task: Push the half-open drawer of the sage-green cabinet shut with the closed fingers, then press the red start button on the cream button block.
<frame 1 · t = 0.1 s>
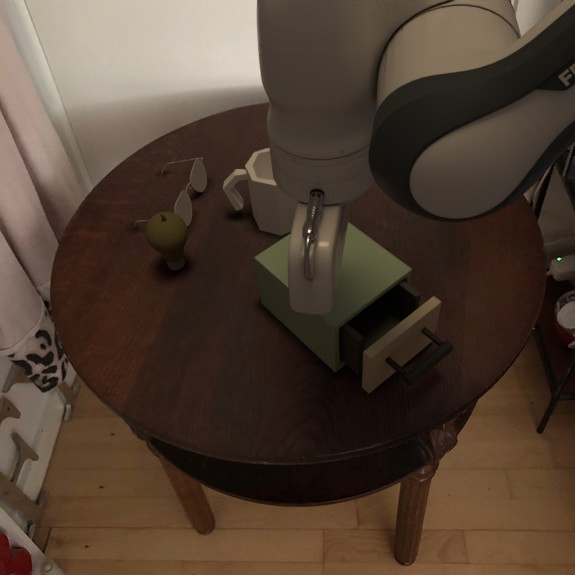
hand: (328, 265, 61), 20 cm above the table, tool pointing down, fingers open, 8 cm apart
sunglasses: (173, 203, 99), on the table
light bulb: (178, 267, 90), on the table
cabinet: (332, 310, 83), on the table
drawer: (376, 324, 75), point 5 cm above the table, slide at 4.0 cm
mug: (268, 216, 95), on the table
button block: (415, 167, 100), on the table
start button: (418, 144, 96), point 4 cm above the table, slide at 0.1 cm
fruit: (298, 159, 103), on the table
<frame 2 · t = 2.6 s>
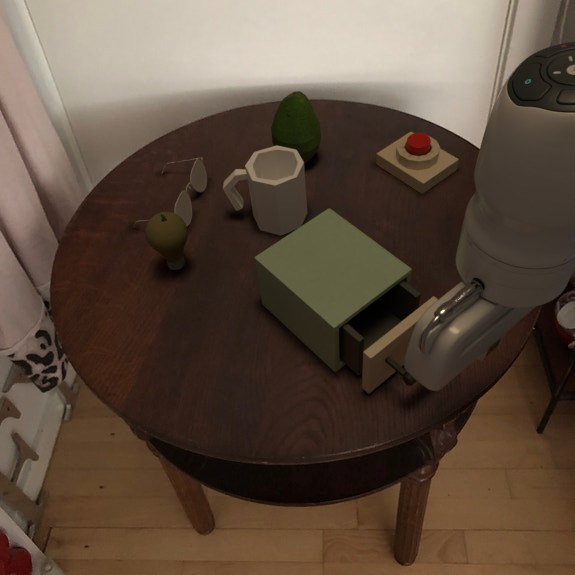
hand: (483, 348, 60), 15 cm above the table, tool pointing down, fingers closed
nothing on the table moved.
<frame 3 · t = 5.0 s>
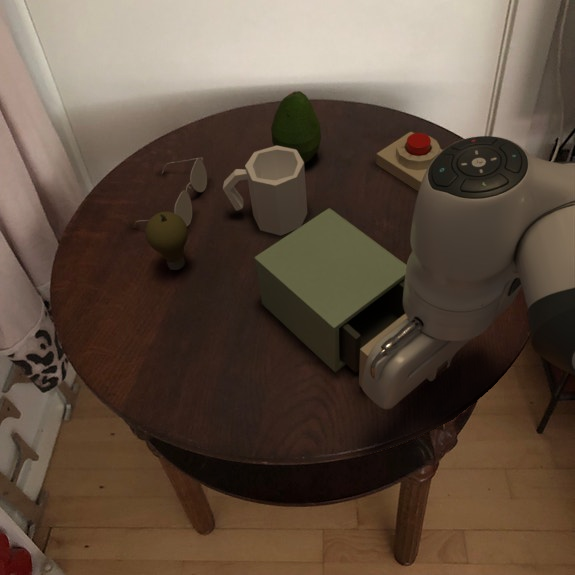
hand: (434, 370, 70), 6 cm above the table, tool pointing down, fingers closed, pressing on drawer
drawer: (373, 322, 75), point 5 cm above the table, slide at 3.5 cm, touching gripper
everything else where it was.
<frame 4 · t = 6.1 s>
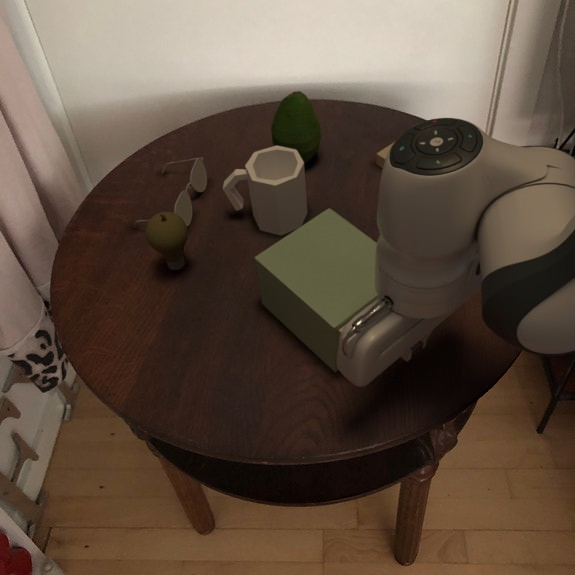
hand: (410, 350, 71), 6 cm above the table, tool pointing down, fingers closed, pressing on drawer
drawer: (353, 305, 77), point 5 cm above the table, slide at 0.0 cm, touching cabinet, gripper
everything else where it was.
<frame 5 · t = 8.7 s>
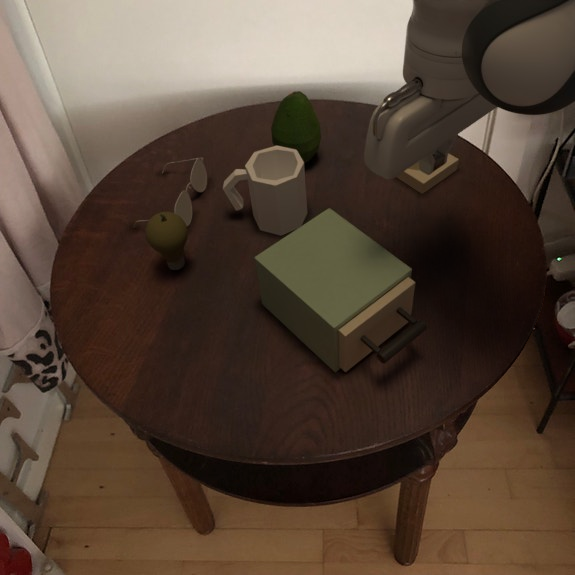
hand: (432, 167, 73), 18 cm above the table, tool pointing down, fingers closed
drawer: (353, 305, 77), point 5 cm above the table, slide at 0.0 cm
everything else where it was.
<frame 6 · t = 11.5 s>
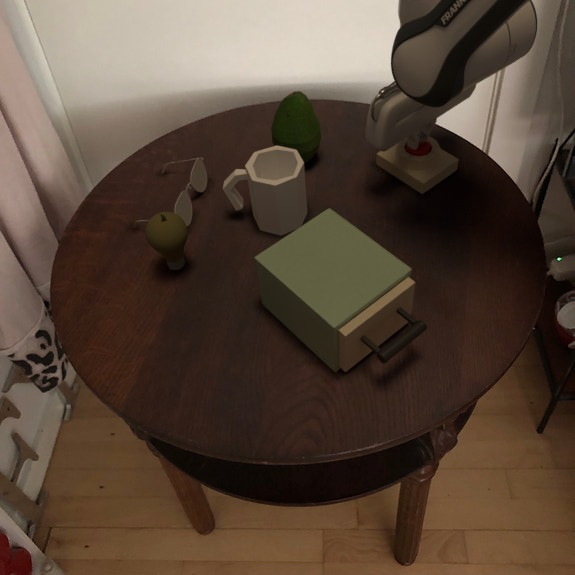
hand: (417, 144, 96), 4 cm above the table, tool pointing down, fingers closed, pressing on start button
start button: (417, 149, 97), point 4 cm above the table, slide at -0.8 cm, touching gripper
everything else where it was.
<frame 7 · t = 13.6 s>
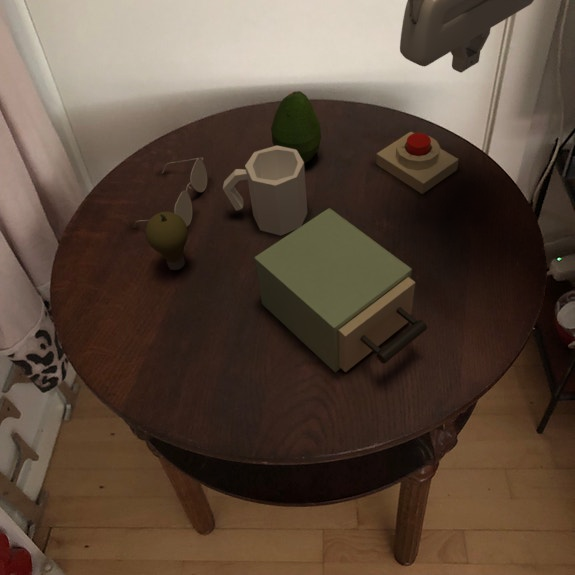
hand: (464, 66, 76), 23 cm above the table, tool pointing down, fingers closed
start button: (418, 144, 96), point 4 cm above the table, slide at 0.1 cm
everything else where it was.
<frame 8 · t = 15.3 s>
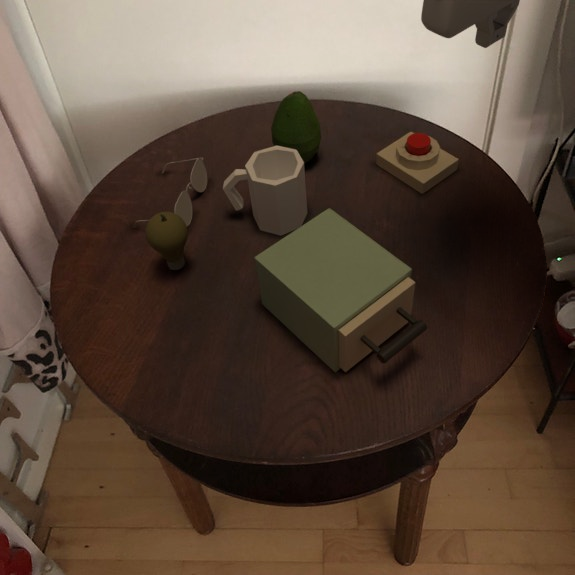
hand: (489, 41, 68), 29 cm above the table, tool pointing down, fingers closed
nothing on the table moved.
at the end: drawer slide at 0.0 cm; start button pushed in 1.1 cm at the most during the clip, back to where it started at the end; start button slide at 0.1 cm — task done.
